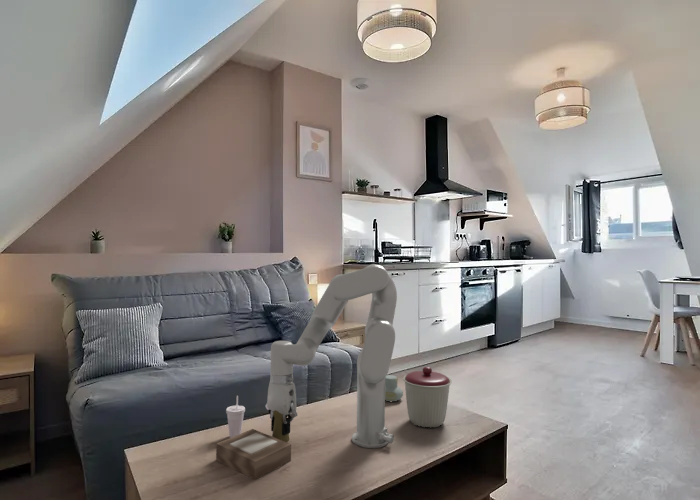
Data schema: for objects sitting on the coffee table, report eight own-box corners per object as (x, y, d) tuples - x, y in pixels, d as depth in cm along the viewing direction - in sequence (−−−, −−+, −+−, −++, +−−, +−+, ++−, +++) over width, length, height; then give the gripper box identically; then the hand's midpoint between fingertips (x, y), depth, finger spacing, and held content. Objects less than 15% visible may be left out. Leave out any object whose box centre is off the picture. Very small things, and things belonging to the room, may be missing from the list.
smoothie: (239, 441, 140) (240, 399, 141) (221, 439, 142) (222, 398, 142) (247, 433, 147) (248, 393, 147) (231, 431, 148) (231, 392, 148)
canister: (393, 423, 158) (393, 367, 158) (418, 410, 172) (419, 358, 172) (436, 437, 146) (436, 376, 146) (459, 422, 160) (460, 366, 160)
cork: (281, 445, 138) (281, 412, 138) (267, 441, 141) (268, 408, 141) (293, 438, 143) (293, 406, 143) (279, 434, 146) (280, 403, 146)
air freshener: (403, 397, 186) (404, 375, 187) (401, 404, 178) (402, 380, 178) (379, 395, 189) (379, 373, 189) (376, 401, 181) (376, 378, 181)
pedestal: (290, 460, 128) (291, 442, 128) (255, 479, 117) (255, 460, 117) (252, 444, 139) (252, 427, 139) (216, 460, 128) (216, 442, 128)
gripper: (307, 380, 140) (306, 435, 140) (272, 371, 151) (271, 422, 150) (291, 385, 134) (290, 442, 134) (256, 375, 145) (255, 429, 144)
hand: (280, 431), depth 142 cm, fingers open, 4 cm apart
